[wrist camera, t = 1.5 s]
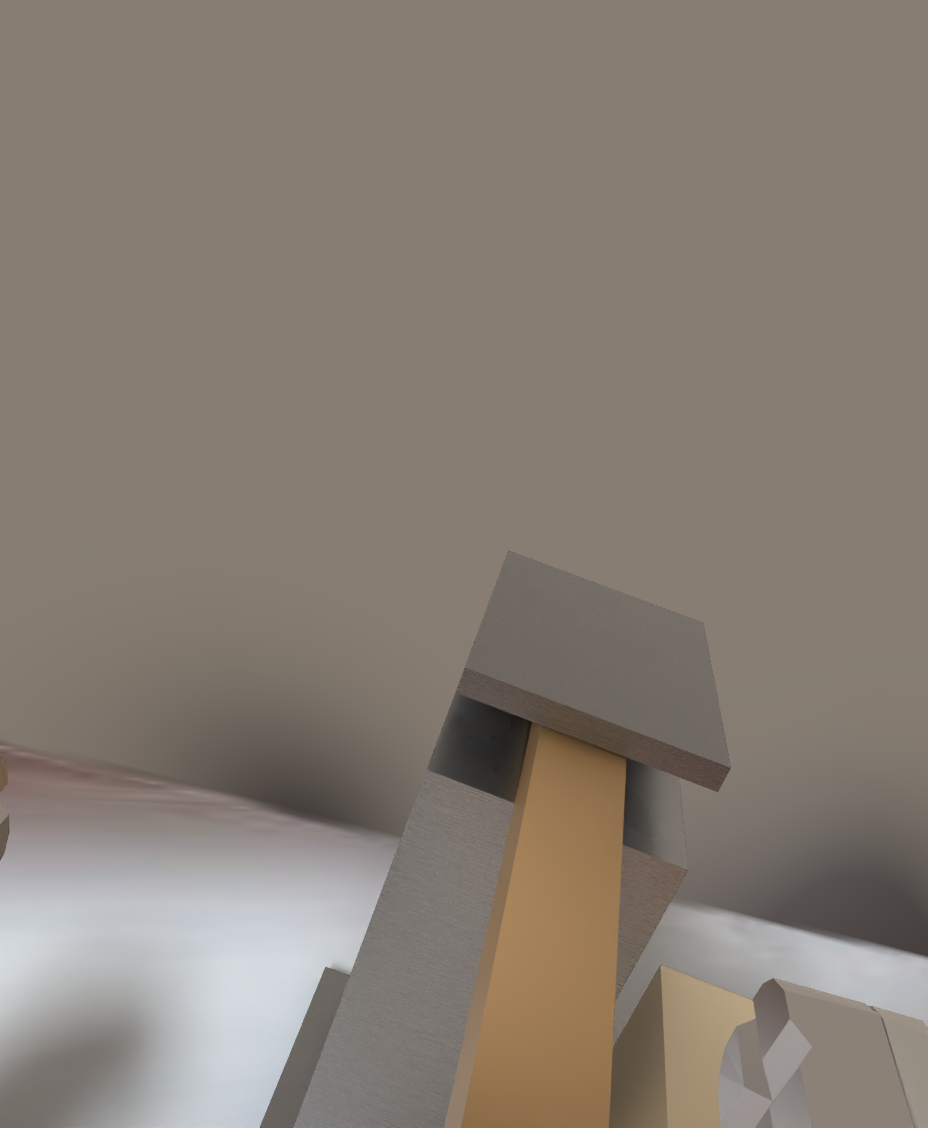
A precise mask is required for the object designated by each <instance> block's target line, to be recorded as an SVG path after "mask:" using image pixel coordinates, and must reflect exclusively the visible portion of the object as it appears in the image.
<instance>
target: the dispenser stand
mask: <svg viewBox="0 0 928 1128" xmlns="http://www.w3.org/2000/svg"><path fill="white" fill-rule="evenodd" d="M532 722H534V723H537V724H540V725H542V726H545V727H548V728H550V729H553V730H556V731H558V732H561V733H563V734H566V735H569V736H571V737H574V738H577V739H579V740H582V741H585V742H587V743H590V744H593V745H595V746H598V747H600V748H603V749H606V750H608V751H611V752H614V753H616V754H619V755H622V756H624V757H627V759H626V780H625V801H624V822H623V843H622V864H621V885H620V906H619V927H618V948H617V969H616V990H615V1000H616V998H617V997H618V995H619V993H620V991H621V989H622V988H623V986H624V984H625V982H626V980H627V979H628V977H629V975H630V973H631V972H632V970H633V968H634V966H635V964H636V963H637V961H638V959H639V957H640V955H641V954H642V952H643V950H644V948H645V946H646V945H647V943H648V941H649V939H650V937H651V936H652V934H653V932H654V930H655V928H656V927H657V925H658V923H659V921H660V920H661V918H662V916H663V914H664V912H665V911H666V909H667V907H668V905H669V903H670V902H671V900H672V898H673V896H674V894H675V893H676V891H677V889H678V887H679V885H680V884H681V882H682V880H683V878H684V876H685V875H686V873H687V871H688V863H687V852H686V842H685V831H684V820H683V810H682V798H681V788H680V778H682V779H685V780H687V781H690V782H693V783H696V784H698V785H701V786H703V787H706V788H709V789H711V790H714V791H717V792H718V791H719V789H720V787H721V785H722V784H723V782H724V780H725V778H726V776H727V774H728V772H729V771H730V769H731V765H730V759H729V754H728V749H727V744H726V738H725V733H724V728H723V723H722V717H721V712H720V707H719V702H718V696H717V691H716V686H715V681H714V676H713V670H712V665H711V660H710V655H709V649H708V644H707V639H706V633H705V628H704V623H703V622H700V621H697V620H695V619H692V618H689V617H686V616H684V615H681V614H678V613H676V612H673V611H670V610H668V609H665V608H662V607H659V606H657V605H654V604H651V603H648V602H646V601H643V600H640V599H638V598H635V597H633V596H630V595H627V594H624V593H621V592H619V591H616V590H614V589H611V588H608V587H605V586H603V585H600V584H597V583H595V582H592V581H589V580H587V579H584V578H581V577H579V576H576V575H573V574H570V573H568V572H565V571H562V570H560V569H557V568H554V567H551V566H549V565H546V564H543V563H541V562H538V561H535V560H533V559H530V558H527V557H525V556H522V555H519V554H516V553H514V552H511V551H508V553H507V555H506V558H505V561H504V563H503V566H502V569H501V571H500V574H499V577H498V580H497V582H496V585H495V588H494V591H493V593H492V596H491V599H490V601H489V604H488V606H487V609H486V612H485V614H484V617H483V620H482V623H481V625H480V628H479V631H478V634H477V636H476V639H475V641H474V644H473V647H472V649H471V652H470V655H469V658H468V660H467V663H466V666H465V668H464V671H463V674H462V677H461V679H460V682H459V684H458V687H457V690H456V693H455V695H454V698H453V700H452V703H451V706H450V709H449V711H448V714H447V717H446V720H445V722H444V725H443V727H442V730H441V733H440V736H439V738H438V741H437V744H436V747H435V749H434V751H433V754H432V757H431V760H430V762H429V765H428V768H427V770H426V773H425V776H424V778H423V781H422V784H421V787H420V789H419V792H418V794H417V797H416V800H415V803H414V805H413V808H412V811H411V813H410V816H409V819H408V821H407V824H406V827H405V830H404V832H403V835H402V837H401V840H400V843H399V846H398V848H397V851H396V854H395V856H394V859H393V862H392V864H391V867H390V870H389V872H388V875H387V878H386V880H385V883H384V886H383V889H382V891H381V894H380V897H379V899H378V902H377V905H376V907H375V910H374V913H373V915H372V918H371V921H370V923H369V926H368V929H367V931H366V934H365V937H364V940H363V942H362V945H361V948H360V950H359V953H358V956H357V958H356V961H355V964H354V966H353V969H352V972H351V974H350V976H348V975H345V974H343V973H340V972H338V971H335V970H333V969H330V968H327V967H325V969H324V972H323V974H322V977H321V979H320V982H319V984H318V987H317V989H316V991H315V994H314V996H313V999H312V1001H311V1004H310V1006H309V1009H308V1011H307V1013H306V1016H305V1018H304V1021H303V1023H302V1026H301V1028H300V1031H299V1033H298V1035H297V1038H296V1040H295V1043H294V1045H293V1048H292V1050H291V1053H290V1055H289V1057H288V1060H287V1062H286V1065H285V1067H284V1070H283V1072H282V1074H281V1077H280V1079H279V1082H278V1084H277V1087H276V1089H275V1092H274V1094H273V1096H272V1099H271V1101H270V1104H269V1106H268V1109H267V1111H266V1114H265V1116H264V1118H263V1121H262V1123H261V1126H260V1128H444V1125H445V1121H446V1116H447V1112H448V1107H449V1102H450V1098H451V1093H452V1089H453V1084H454V1079H455V1075H456V1070H457V1066H458V1061H459V1056H460V1052H461V1047H462V1043H463V1038H464V1033H465V1029H466V1024H467V1020H468V1015H469V1010H470V1006H471V1001H472V997H473V992H474V987H475V983H476V978H477V974H478V969H479V964H480V960H481V955H482V950H483V946H484V941H485V937H486V932H487V927H488V923H489V918H490V914H491V909H492V904H493V900H494V895H495V891H496V886H497V881H498V877H499V872H500V868H501V863H502V858H503V854H504V849H505V845H506V840H507V835H508V831H509V826H510V822H511V817H512V812H513V808H514V803H515V799H516V794H517V789H518V785H519V780H520V776H521V771H522V766H523V762H524V757H525V753H526V748H527V743H528V739H529V734H530V730H531V725H532Z"/></svg>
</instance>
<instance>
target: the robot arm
mask: <svg viewBox="0 0 928 1128" xmlns="http://www.w3.org/2000/svg"><path fill="white" fill-rule="evenodd" d="M7 784H8V777H7V765H6V759H4V758H2V757H0V792H1V790H2V789H3V788H4V787H5V786H6V785H7ZM8 835H9V813H8V812H7V811H6V809H5V808H4V807H3V805H2V804H1V802H0V860H1V858H2V856H3V854H4V852H5V848H6V844H7V839H8ZM753 1003H754V1010H755V1016H756V1019H753V1020H751V1021H748V1022H746V1023H743V1024H741V1025H738V1026H736V1028H735V1030H734V1031H733V1033H732V1035H731V1037H730V1039H729V1040H728V1042H727V1044H726V1046H725V1049H724V1053H723V1058H722V1062H721V1067H720V1071H719V1085H718V1102H719V1112H720V1123H721V1125H722V1127H723V1128H928V1027H927V1026H926V1025H925V1023H924V1022H923V1021H922V1020H918V1019H915V1018H911V1017H908V1016H904V1015H901V1014H897V1013H894V1012H890V1011H887V1010H883V1009H880V1008H876V1007H873V1006H867V1005H866V1004H865V1003H861V1002H857V1001H854V1000H850V999H846V998H843V997H839V996H836V995H832V994H828V993H825V992H821V991H818V990H814V989H810V988H807V987H803V986H799V985H796V984H792V983H789V982H785V981H781V980H778V979H774V978H773V979H771V980H769V981H767V982H766V983H764V984H763V985H762V986H761V988H760V989H759V991H758V992H757V994H756V995H755V997H754V999H753Z"/></svg>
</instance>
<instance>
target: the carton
mask: <svg viewBox="0 0 928 1128" xmlns="http://www.w3.org/2000/svg"><path fill="white" fill-rule="evenodd" d="M753 1019H756V1016H755V1010H754V1003H753V1000H750V999H748V998H745V997H742V996H740V995H737V994H735V993H732V992H730V991H727V990H724V989H722V988H719V987H717V986H714V985H712V984H709V983H706V982H704V981H701V980H699V979H696V978H694V977H691V976H688V975H686V974H683V973H681V972H678V971H676V970H673V969H670V968H668V967H665V966H663V965H660V967H659V969H658V970H657V972H656V974H655V976H654V977H653V979H652V981H651V983H650V984H649V986H648V988H647V990H646V991H645V993H644V995H643V996H642V998H641V1000H640V1002H639V1003H638V1005H637V1007H636V1009H635V1010H634V1012H633V1014H632V1016H631V1017H630V1019H629V1021H628V1023H627V1024H626V1026H625V1028H624V1030H623V1031H622V1033H621V1035H620V1037H619V1038H618V1040H617V1042H616V1043H615V1045H614V1047H613V1053H612V1073H611V1094H610V1115H609V1128H723V1127H722V1125H721V1123H720V1112H719V1102H718V1085H719V1071H720V1067H721V1062H722V1058H723V1053H724V1049H725V1046H726V1044H727V1042H728V1040H729V1039H730V1037H731V1035H732V1033H733V1031H734V1030H735V1028H736V1026H738V1025H741V1024H743V1023H746V1022H748V1021H751V1020H753Z"/></svg>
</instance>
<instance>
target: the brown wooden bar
mask: <svg viewBox="0 0 928 1128" xmlns="http://www.w3.org/2000/svg"><path fill="white" fill-rule="evenodd" d="M626 759H627V757H624V756H622V755H619V754H616V753H614V752H611V751H608V750H606V749H603V748H600V747H598V746H595V745H593V744H590V743H587V742H585V741H582V740H579V739H577V738H574V737H571V736H569V735H566V734H563V733H561V732H558V731H556V730H553V729H550V728H548V727H545V726H542V725H540V724H537V723H534V722H532V725H531V730H530V734H529V739H528V743H527V748H526V753H525V757H524V762H523V766H522V771H521V776H520V780H519V785H518V789H517V794H516V799H515V803H514V808H513V812H512V817H511V822H510V826H509V831H508V835H507V840H506V845H505V849H504V854H503V858H502V863H501V868H500V872H499V877H498V881H497V886H496V891H495V895H494V900H493V904H492V909H491V914H490V918H489V923H488V927H487V932H486V937H485V941H484V946H483V950H482V955H481V960H480V964H479V969H478V974H477V978H476V983H475V987H474V992H473V997H472V1001H471V1006H470V1010H469V1015H468V1020H467V1024H466V1029H465V1033H464V1038H463V1043H462V1047H461V1052H460V1056H459V1061H458V1066H457V1070H456V1075H455V1079H454V1084H453V1089H452V1093H451V1098H450V1102H449V1107H448V1112H447V1116H446V1121H445V1125H444V1128H609V1115H610V1094H611V1073H612V1053H613V1032H614V1011H615V990H616V969H617V948H618V927H619V906H620V885H621V864H622V843H623V822H624V801H625V780H626Z"/></svg>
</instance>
